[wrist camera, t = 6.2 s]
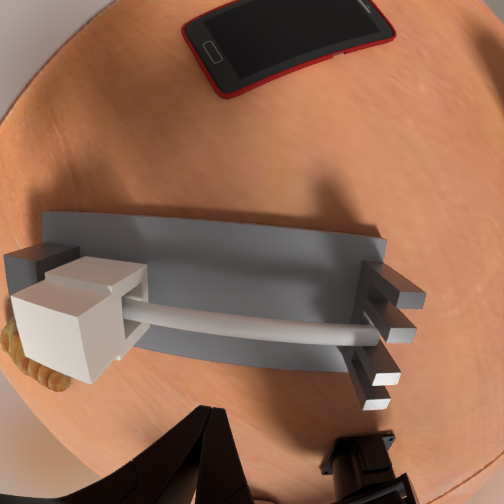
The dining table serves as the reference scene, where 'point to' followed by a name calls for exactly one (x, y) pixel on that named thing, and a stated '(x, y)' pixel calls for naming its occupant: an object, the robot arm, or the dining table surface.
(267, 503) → the plastic bottle
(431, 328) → the dining table surface
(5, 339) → the pastry
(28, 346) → the notched white block
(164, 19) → the dining table surface
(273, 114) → the dining table surface
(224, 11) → the cell phone
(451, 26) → the dining table surface
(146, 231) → the cable rail
